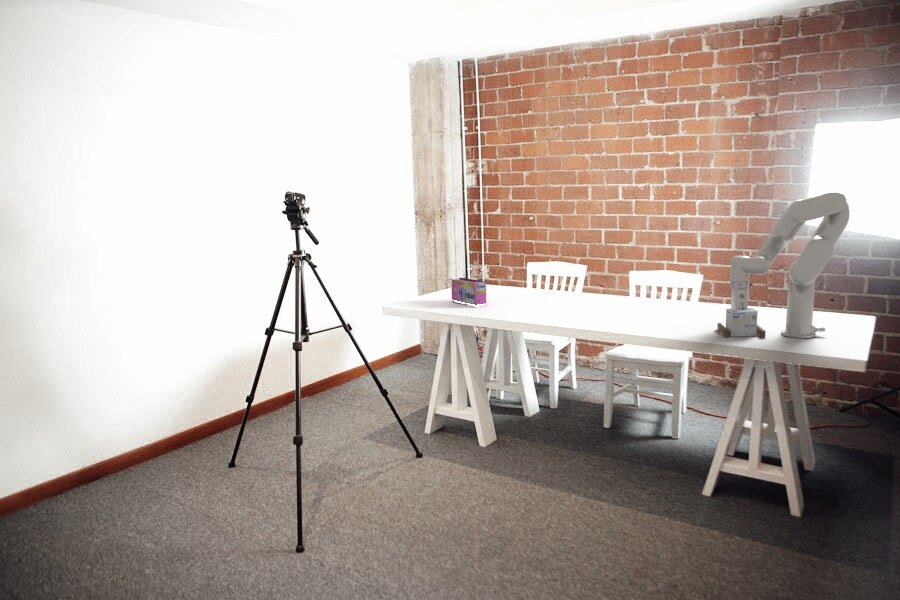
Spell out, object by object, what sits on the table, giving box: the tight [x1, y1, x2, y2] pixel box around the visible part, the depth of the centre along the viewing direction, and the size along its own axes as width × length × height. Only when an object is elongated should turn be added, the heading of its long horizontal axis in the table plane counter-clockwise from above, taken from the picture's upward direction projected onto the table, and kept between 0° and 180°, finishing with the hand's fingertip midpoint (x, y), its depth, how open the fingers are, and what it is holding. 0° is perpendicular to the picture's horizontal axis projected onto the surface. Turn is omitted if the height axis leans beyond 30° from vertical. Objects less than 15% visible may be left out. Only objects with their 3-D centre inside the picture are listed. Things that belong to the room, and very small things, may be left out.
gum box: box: [450, 277, 487, 305], centre depth 358 cm, size 24×8×14 cm, turn 36°
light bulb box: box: [725, 307, 759, 338], centre depth 267 cm, size 11×7×11 cm, turn 90°
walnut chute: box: [716, 322, 766, 339], centre depth 270 cm, size 15×15×3 cm
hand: (737, 327), depth 275 cm, fingers closed
